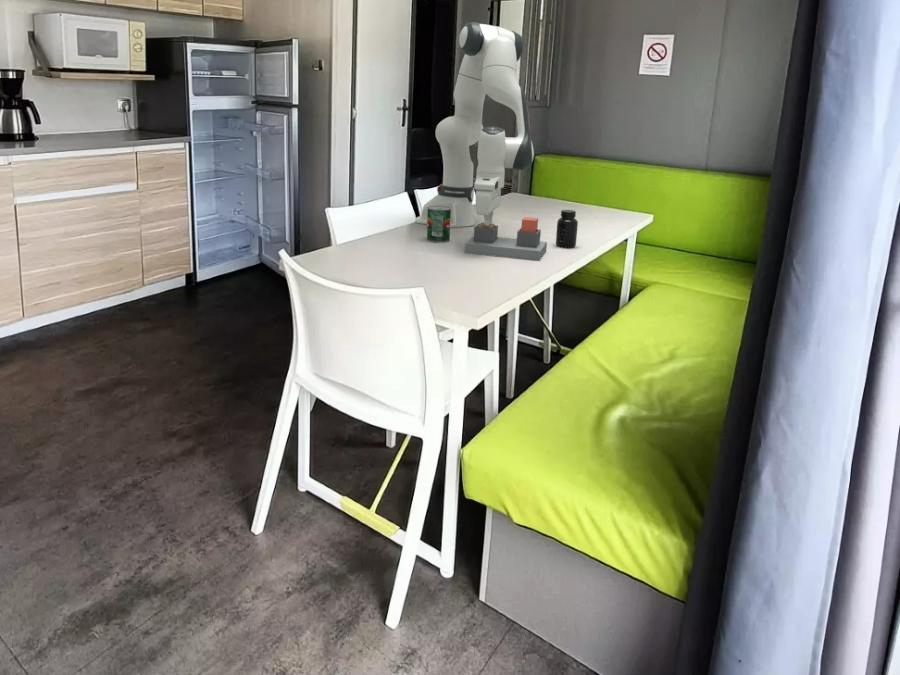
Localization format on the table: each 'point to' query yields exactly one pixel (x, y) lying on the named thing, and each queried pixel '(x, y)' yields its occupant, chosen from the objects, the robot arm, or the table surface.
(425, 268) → the table surface
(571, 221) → the supplement bottle
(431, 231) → the canned tomato
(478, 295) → the table surface
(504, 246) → the button panel
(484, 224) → the tan button
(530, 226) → the red button
